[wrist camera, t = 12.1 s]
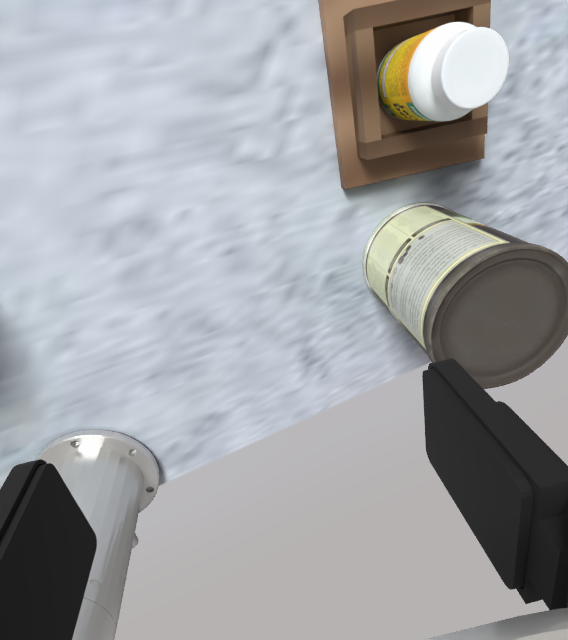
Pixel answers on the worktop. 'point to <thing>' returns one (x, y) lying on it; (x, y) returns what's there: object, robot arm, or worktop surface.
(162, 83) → the worktop surface
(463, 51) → the supplement bottle
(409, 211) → the coffee can
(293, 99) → the worktop surface
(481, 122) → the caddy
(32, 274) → the worktop surface
